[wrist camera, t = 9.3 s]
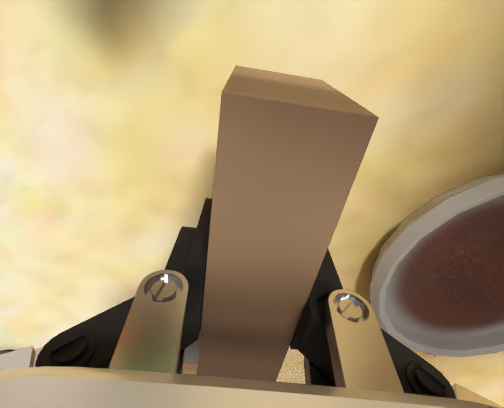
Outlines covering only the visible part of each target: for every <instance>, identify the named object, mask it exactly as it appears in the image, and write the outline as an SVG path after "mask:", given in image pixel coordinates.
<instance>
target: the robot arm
mask: <svg viewBox="0 0 504 408" xmlns="http://www.w3.org/2000/svg"><path fill="white" fill-rule="evenodd" d="M211 209H212V199H209V198H206V200H205V203H204V206H203V210H202V213H201V216H200V219H199V223H198V226H197V228H191V227H182V228H181V230H180V232H179V235H178V237H177V240H176V243H175V245H174V248H173V250H172V253H171V255H170V258H169V260H168V263H167V265H166V268H165V270H160V271H156V272H153V273H151V274H149V275H147V276H146V277H145V278H144V279H143V280H142V281H141V283H140V285H139V287H138V289H137V292H136V295H135V297H133V298H131V299H129V300H127V301H125V302H123V303H121V304H119V305H117V306H115V307H112V308H110V309H108V310H106V311H104V312H102V313H100V314H98V315H96V316H94V317H92V318H90V319H88V320H86V321H84V322H82V323H80V324H78V325H76V326H74V327H72V328H70V329H68V330H66V331H64V332H62V333H60V334H58V335H57V336H55V337H54V338H52V339H51V340H50V341H49V342H48V343H47V344H46V345H45V346H44V347H42V348H38V349H35V350H34V348H33V346H30V347H26V348H23V349H19V350H15V351H12V352H8V353H5V354H1V355H0V408H504V407H502V406H500V405H498V404H496V403H494V402H492V401H490V400H488V399H486V398H484V397H482V396H480V395H478V394H476V393H474V392H472V391H470V390H468V389H466V388H464V387H462V386H460V385H458V384H456V383H455V384H454V385H453V386H451V385H450V383H449V381H448V380H447V379H446V378H445V377H444V376H443V374H442V373H441V372H439V371H438V370H437V369H436V368H435V367H434V366H432V365H431V364H429V363H428V362H427V361H425V360H424V359H423V358H421V357H420V356H418V355H417V354H416V353H414V352H413V351H412V350H410V349H409V348H407V347H406V346H405V345H403V344H402V343H401V342H399V341H398V340H396V339H395V338H394V337H392V336H391V335H390V334H388V333H387V332H385V331H384V330H383V329H381V328H380V326H379V324H378V321H377V318H376V316H375V313H374V310H373V309H372V307H371V305H370V304H369V303H368V302H367V300H366V299H364V298H363V297H362V296H360V295H359V294H357V293H355V292H353V291H349V290H343V287H342V285H341V282H340V279H339V277H338V274H337V271H336V269H335V266H334V263H333V261H332V258H331V255H330V253H329V250H328V249H327V251H326V254H325V256H324V259H323V261H322V264H321V267H320V269H319V272H318V274H317V277H316V279H315V282H314V284H313V287H312V290H311V292H310V295H309V297H308V300H307V302H306V305H305V307H304V310H303V313H302V315H301V318H300V320H299V323H298V325H297V328H296V330H295V333H294V336H293V338H292V341H291V343H290V348H291V349H297V350H299V351H300V352H301V353H302V354H303V355H304V369H305V381H306V384H297V383H285V382H274V381H262V380H250V379H238V378H226V377H213V376H201V375H188V374H182V372H183V365H184V357H185V349H186V348H187V347H188V346H190V345H191V344H193V343H194V342H195V341H196V340H198V338H199V333H200V330H201V323H202V312H203V300H204V289H205V278H206V266H207V255H208V243H209V232H210V221H211Z"/></svg>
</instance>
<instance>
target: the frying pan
mask: <svg viewBox="0 0 504 408" xmlns="http://www.w3.org/2000/svg"><path fill="white" fill-rule="evenodd" d="M370 305H371V307H372V309H373V310H374V313H375V316H376V318H377V321H378V324H379V325H380V327H381V329H383V330H384V331H385V332H387V333H388V334H390V335H391V336H392V337H394V338H395V339H396V340H398V341H399V342H401V343H402V344H403V345H405V346H406V347H408V348H410V349H414V350H417V351H420V352H424V353H427V354H431V355H438V356H456V357H466V356H474V355H482V354H491V353H497V352H500V351H504V173H501V174H496V175H491V176H485V177H480V178H476V179H474V180H472V181H469V182H467V183H465V184H463V185H460V186H458V187H456V188H453V189H451V190H449V191H447V192H444V193H442V194H440V195H438V196H436V197H435V198H433V199H432V200H430V201H429V202H428V203H426V204H425V205H423V206H422V207H421V208H419V209H418V210H416V211H415V212H414V213H412V214H411V215H409V216H408V217H407V218H405V219H404V220H403V221H402V222H401V224H400V225H399V226H398V227H397V228H396V229H395V231H394V232H393V233H392V234H391V235H390V237H389V238H388V239H387V240H386V241H385V243H384V244H383V245H382V247H381V249H380V252H379V254H378V257H377V259H376V262H375V264H374V266H373V269H372V281H371V283H370Z"/></svg>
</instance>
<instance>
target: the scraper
mask: <svg viewBox="0 0 504 408" xmlns="http://www.w3.org/2000/svg"><path fill="white" fill-rule="evenodd" d="M378 118H379V117H377V116H376V115H374V114H373V113H371V112H370V111H368V110H367V109H365V108H364V107H362V106H361V105H359V104H358V103H356V102H355V101H353V100H351V99H350V98H348V97H347V96H345V95H344V94H342V93H341V92H339V91H338V90H336V89H335V88H333V87H332V86H330V85H329V84H327V83H326V82H324V81H322V80H318V79H312V78H306V77H300V76H295V75H289V74H283V73H277V72H271V71H265V70H259V69H253V68H247V67H241V66H235V68H234V70H233V72H232V74H231V76H230V78H229V79H228V81H227V83H226V85H225V87H224V89H223V91H222V95H221V107H220V118H219V130H218V141H217V152H216V164H215V175H214V186H213V198H212V209H211V221H210V232H209V243H208V255H207V266H206V278H205V289H204V300H203V312H202V323H201V330H200V333H199V338H198V340H196V341H195V342H194V343H193V344H191V345H190V346H188V347H187V348H186V349H185V357H184V364H194V365H198V369H197V375H201V376H213V377H226V378H238V379H250V380H262V381H274V382H276V379H277V377H278V374H279V371H280V369H281V366H282V364H283V361H284V359H285V356H286V354H287V351H288V348H289V346H290V343H291V341H292V338H293V336H294V333H295V330H296V328H297V325H298V323H299V320H300V318H301V315H302V313H303V310H304V307H305V305H306V302H307V300H308V297H309V295H310V292H311V290H312V287H313V284H314V282H315V279H316V277H317V274H318V272H319V269H320V267H321V264H322V261H323V259H324V256H325V254H326V251H327V249H328V246H329V244H330V241H331V238H332V236H333V233H334V231H335V228H336V226H337V223H338V220H339V218H340V215H341V213H342V210H343V208H344V205H345V203H346V200H347V197H348V195H349V192H350V190H351V187H352V185H353V182H354V180H355V177H356V174H357V172H358V169H359V167H360V164H361V162H362V159H363V157H364V154H365V151H366V149H367V146H368V144H369V141H370V139H371V136H372V134H373V131H374V128H375V126H376V123H377V121H378Z"/></svg>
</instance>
